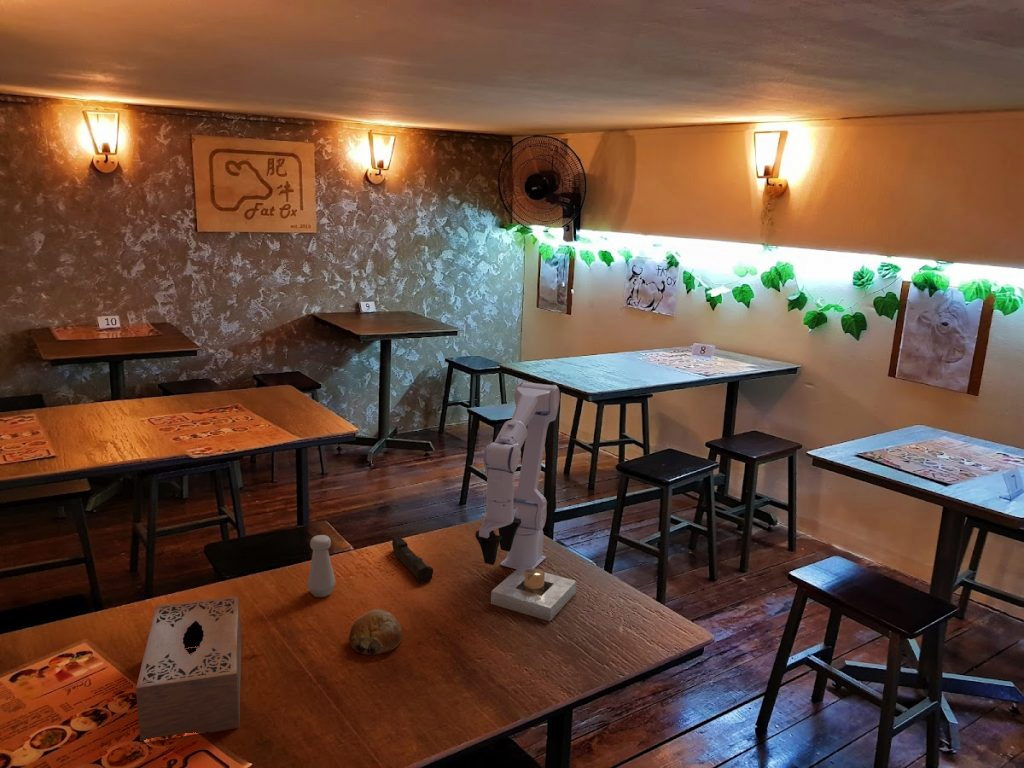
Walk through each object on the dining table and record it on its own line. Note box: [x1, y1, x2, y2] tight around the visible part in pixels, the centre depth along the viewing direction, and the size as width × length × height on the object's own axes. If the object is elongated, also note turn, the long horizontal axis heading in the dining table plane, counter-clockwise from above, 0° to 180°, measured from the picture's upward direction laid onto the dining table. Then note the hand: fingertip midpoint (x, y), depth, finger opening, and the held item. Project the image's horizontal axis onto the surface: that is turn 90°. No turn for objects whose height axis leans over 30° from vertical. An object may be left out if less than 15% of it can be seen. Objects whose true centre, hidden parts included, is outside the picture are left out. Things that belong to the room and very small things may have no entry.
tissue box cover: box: [135, 595, 242, 742], centre depth 130 cm, size 26×14×10 cm, turn 19°
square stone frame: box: [490, 566, 577, 622], centre depth 166 cm, size 14×14×3 cm
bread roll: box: [348, 608, 403, 656], centre depth 146 cm, size 10×10×8 cm
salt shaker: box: [307, 534, 336, 598], centre depth 163 cm, size 6×6×13 cm
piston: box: [524, 568, 546, 596], centre depth 165 cm, size 4×4×6 cm
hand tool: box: [392, 536, 434, 584], centre depth 179 cm, size 19×4×5 cm, turn 29°
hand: (497, 556), depth 164 cm, fingers open, 7 cm apart
